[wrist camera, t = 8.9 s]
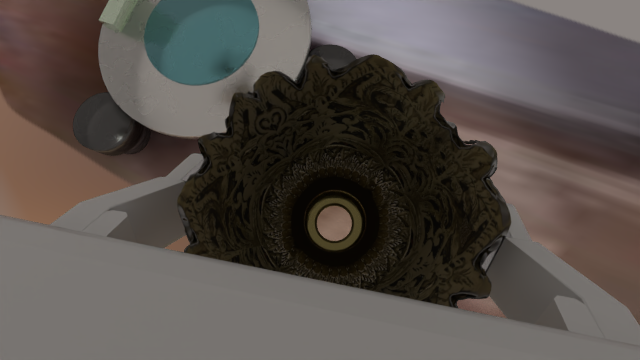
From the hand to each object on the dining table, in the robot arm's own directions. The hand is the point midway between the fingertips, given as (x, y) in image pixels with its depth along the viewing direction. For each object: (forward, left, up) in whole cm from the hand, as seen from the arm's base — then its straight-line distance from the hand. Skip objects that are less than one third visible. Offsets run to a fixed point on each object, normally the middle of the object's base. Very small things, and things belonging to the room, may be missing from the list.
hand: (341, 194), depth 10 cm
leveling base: (+8, -20, -17) cm, 27 cm away
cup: (+1, 0, -5) cm, 5 cm away
